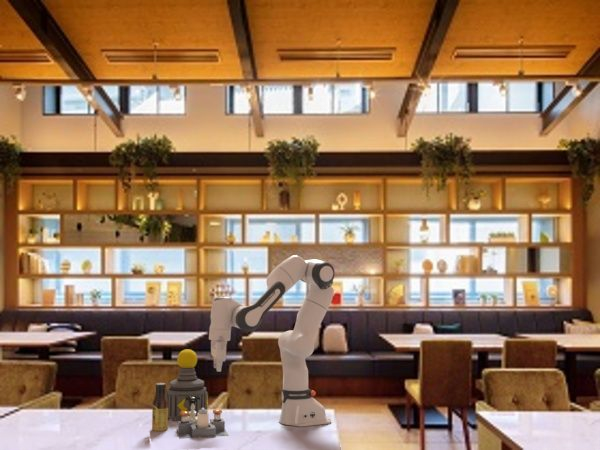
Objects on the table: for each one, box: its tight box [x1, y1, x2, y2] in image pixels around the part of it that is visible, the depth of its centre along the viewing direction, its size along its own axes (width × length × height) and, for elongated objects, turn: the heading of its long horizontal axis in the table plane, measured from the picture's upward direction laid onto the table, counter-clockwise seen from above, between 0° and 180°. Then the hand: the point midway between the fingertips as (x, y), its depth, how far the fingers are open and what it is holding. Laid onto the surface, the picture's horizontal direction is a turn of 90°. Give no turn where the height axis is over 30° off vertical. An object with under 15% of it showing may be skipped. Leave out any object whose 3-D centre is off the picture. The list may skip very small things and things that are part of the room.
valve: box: [185, 396, 200, 424], centre depth 280 cm, size 7×7×12 cm
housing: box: [176, 418, 229, 440], centre depth 261 cm, size 19×15×5 cm
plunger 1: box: [180, 411, 190, 423], centre depth 264 cm, size 4×4×6 cm
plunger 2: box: [212, 409, 223, 421], centre depth 267 cm, size 4×4×6 cm
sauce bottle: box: [151, 382, 169, 432], centre depth 267 cm, size 7×6×20 cm
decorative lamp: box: [165, 348, 209, 422], centre depth 298 cm, size 19×19×30 cm
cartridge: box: [196, 408, 210, 428], centre depth 259 cm, size 4×4×10 cm
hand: (217, 369), depth 271 cm, fingers open, 8 cm apart
